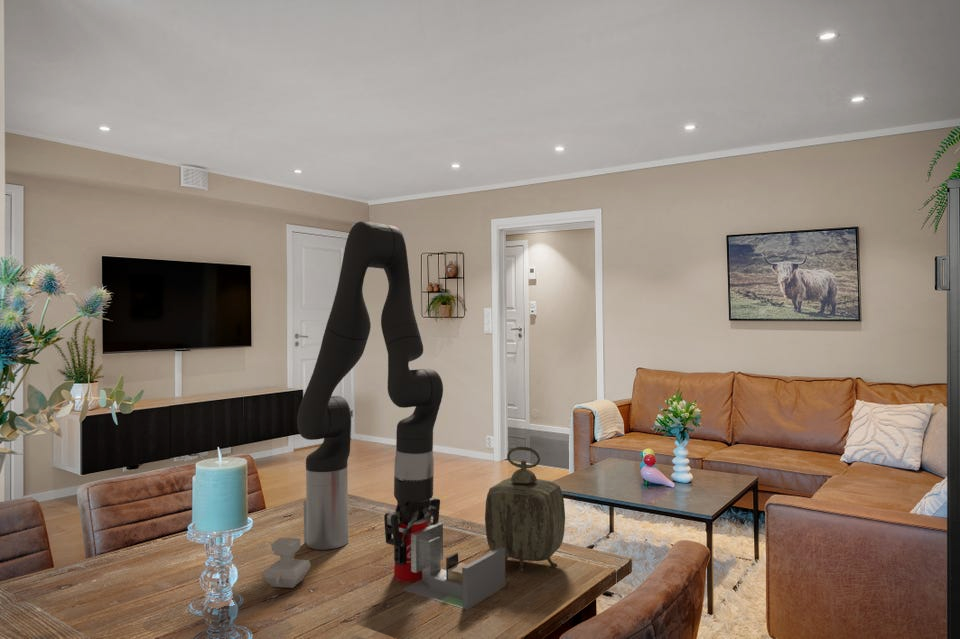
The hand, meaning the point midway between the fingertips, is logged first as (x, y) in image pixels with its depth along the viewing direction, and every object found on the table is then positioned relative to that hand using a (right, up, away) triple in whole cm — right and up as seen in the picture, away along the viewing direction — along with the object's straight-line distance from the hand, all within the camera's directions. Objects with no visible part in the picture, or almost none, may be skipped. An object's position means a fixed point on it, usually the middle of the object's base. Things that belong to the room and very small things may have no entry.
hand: (412, 558), depth 126 cm
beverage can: (0, -4, 0) cm, 4 cm away
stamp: (-24, -5, 0) cm, 24 cm away
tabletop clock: (+22, -4, +4) cm, 23 cm away
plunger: (+6, -3, -4) cm, 8 cm away
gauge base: (+8, -4, -5) cm, 11 cm away
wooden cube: (+10, -3, -7) cm, 13 cm away
